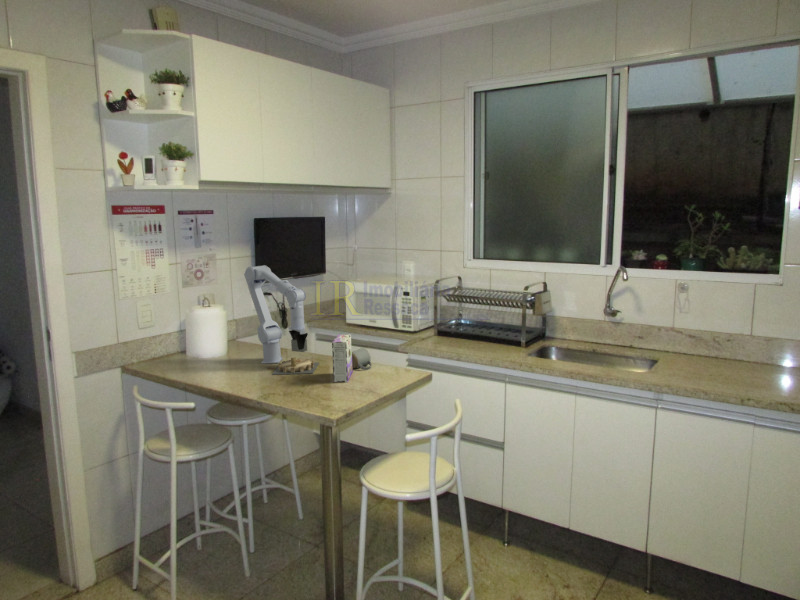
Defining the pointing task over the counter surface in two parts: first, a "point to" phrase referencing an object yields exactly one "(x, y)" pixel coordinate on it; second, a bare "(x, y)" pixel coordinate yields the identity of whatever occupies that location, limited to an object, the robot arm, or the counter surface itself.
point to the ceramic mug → (361, 359)
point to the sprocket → (296, 365)
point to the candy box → (342, 358)
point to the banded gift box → (295, 346)
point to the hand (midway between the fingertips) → (298, 347)
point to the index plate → (296, 372)
